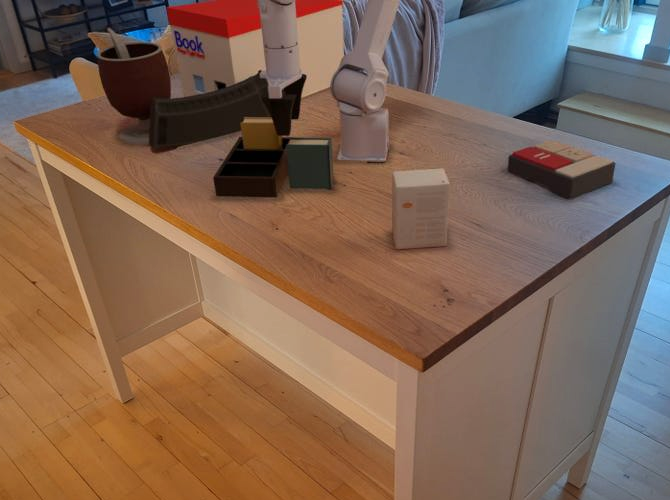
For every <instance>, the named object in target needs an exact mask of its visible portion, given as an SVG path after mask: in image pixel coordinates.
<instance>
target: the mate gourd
mask: <svg viewBox="0 0 670 500" xmlns="http://www.w3.org/2000/svg"><path fill="white" fill-rule="evenodd" d="M106 31H107V32H108V33H109V36H110V39H111V41H112V44H113V45H110V46H108V47H105V48H102V49H101V50H99V51H98V52H97V53H96V56H97V69H98V75H99V79H100V83H101V86H102V89H103V92H104V94H105V96H106V98H107V101H108V103H109V105H110V106H111V107H112V108H113V109H114V110H116V112H118V113H119V114H120V115H121V116H123V117H126V118H127V117H128V118H132V119H137V120H138V122H137V123H134V124H132V125H129V126H127V127H125V128H124V129H122V130H121V131H120V132H119V139H120V141H121V142H122V143H124V144H126V145H130V146H147V145H149V127H150V109H151V105H152V98H153V97H156V98H160V99H171V97H172V96H171V95H172V83H171V81H172V80H171V74H170V69H169V65H168V62H167V58H166V56H165V54H164V51H163V48H162V46H161V44H159V43H156V42H150V41H134V42H133V41H132V42H125V43H124V40H123V39H122V38H121V37H120V36H119V34H117V33H116V32H115V31H114V30H113V29H112V28H111V27H108V28H107V29H106Z"/></svg>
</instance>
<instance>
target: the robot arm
mask: <svg viewBox="0 0 670 500" xmlns="http://www.w3.org/2000/svg"><path fill="white" fill-rule="evenodd" d="M295 1H296V0H257V3H258V8H259V10H260V19H261V28H262V37H263V46H264V55H265V65H266V71H261V73H260V78H265V79H266V80H267V83H268V92H264V93H263V94H262V96H261V98H262V102H263V103H264V105H265V106H266V108H267V109H268V111H269V113H270V115H271V118H272V120H273V123H274V126H275V129H276V132H277V135H278V136H282V137H290V135H291V130H292V120H294V121H295V120H299V118H300V114H301V113H300V112H301V104H302V103H301V102H302V98H301V96H302V91H303V87H304V84H305V81H306V79H307V75H305V74H302V71H301V69H300V60H299V47H298V34H297V21H296V8H295ZM400 3H401V0H367V2H366V6H365V9H364V12H363V16H362V19H361V22H360V26H359V28H358V29H359V30H358V32H357V36H356V39H355V43H354V46H353V49H352V50H351V51H349V52H348V53H346V54H344V57H343V58H342V59H341V62H340V65H339V67H338V69H337V71H336V72H335V73H334V75H333V77H332V79H331V84H330V87H329V88H330V94H331V96H332V98H333V99H334V100H335V101H336V107H337V108H339V131H340V148H339V151H338V153H337V157H336V160H337V161H364V162H365V161H366V162H369V163H385V162H386V161H387V158H388V157H387V156H388V151H389V149H390V137H389V129H390V128H389V125H390V123H389V120H390V119H389V118H390V117H389V109H388V108H383V107H382V106H383V104H384V102H385V99H386V97H387V84H388V79H389V75H390V73H389V70H388V69H387V67H386V65H385V63H384V61H383V57H384V54H385V51H386V47H387V44H388V41H389V38H390V35H391V31H392V28H393V26H394V22H395V19H396V15H397V13H398V9H399V6H400ZM363 71H366V72H363Z"/></svg>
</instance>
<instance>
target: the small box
mask: <svg viewBox="0 0 670 500" xmlns="http://www.w3.org/2000/svg"><path fill="white" fill-rule="evenodd" d="M391 176H392V177H391V179H392V180H391V190H392V191H391V196H392V197H391V216H392V217H391V224H392V225H391V233H392V239H393V243H394V248H395V250H409V249H423V248H424V249H426V248H437V247H446V246H447V241H448V223H449V209H450V190H451V183H450V180H449V179H448V176H447V174H446V171H445V168H443V167H439V168H424V169H411V170H410V169H409V170H396V171H392V173H391Z"/></svg>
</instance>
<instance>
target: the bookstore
mask: <svg viewBox="0 0 670 500" xmlns="http://www.w3.org/2000/svg"><path fill="white" fill-rule="evenodd" d="M343 3H344V2H343V0H296V1H295V8H296V21H297V34H298V47H299V60H300V69H301V71H302V74H305V75H307V79H306V81H305V84H304V87H303V91H302V96H301V99H302V98H306V97H309V96H311V95H313V94H315V93H318V92H321V91H323V90H324V91H325V90H326V89H329V88H330V84H331V79H332V77H333V75H334V73H335V72H336V71H337V69H338V67H339V65H340V62H341V59H342V58H343V57H344V56H345V46H344V42H345V41H344V17H343V5H344V4H343ZM166 13H167V19H168V24H169V26H170V32H171V36H172V37H171V38H172V42H173V48H174V53H175V57H176V63H177V68H178V73H179V78H180V84H181V89H182V90H181V91H182V95H183V97H187V96H192V95H198V94H204V93H208V92H212V91H216V90H219V89H222V88H225V87H229V86H231V85H234V84H236V83H239V82H241V81H243V80H245V79H248V78H249V77H251V76H254V75H256V74H257V73H258V71H259V70H262V71H266V65H265V55H264V46H263V37H262V28H261V19H260V10H259V8H258V3H257V0H208V1H201V2H194V3H187V4H180V5H179V4H178V5H173V6H166Z"/></svg>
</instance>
